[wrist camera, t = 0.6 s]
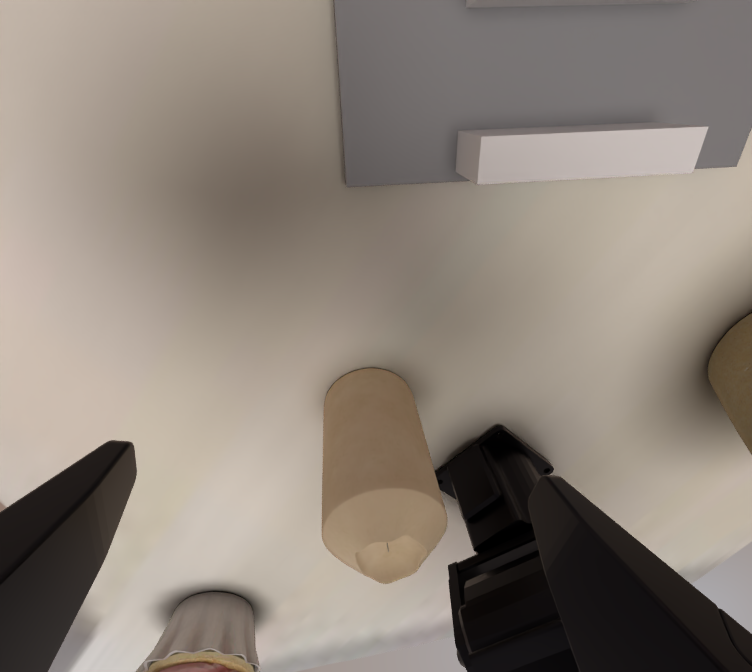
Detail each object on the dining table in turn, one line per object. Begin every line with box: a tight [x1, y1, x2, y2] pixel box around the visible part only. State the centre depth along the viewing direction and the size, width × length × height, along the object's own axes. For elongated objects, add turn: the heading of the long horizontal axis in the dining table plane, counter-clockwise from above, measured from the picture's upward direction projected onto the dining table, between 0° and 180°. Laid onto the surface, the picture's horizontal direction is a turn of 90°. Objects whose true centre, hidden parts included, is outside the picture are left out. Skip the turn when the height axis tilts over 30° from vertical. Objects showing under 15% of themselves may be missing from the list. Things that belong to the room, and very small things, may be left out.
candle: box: [322, 368, 447, 584], centre depth 21 cm, size 6×6×10 cm
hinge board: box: [334, 0, 752, 187], centre depth 15 cm, size 8×18×4 cm, turn 92°
